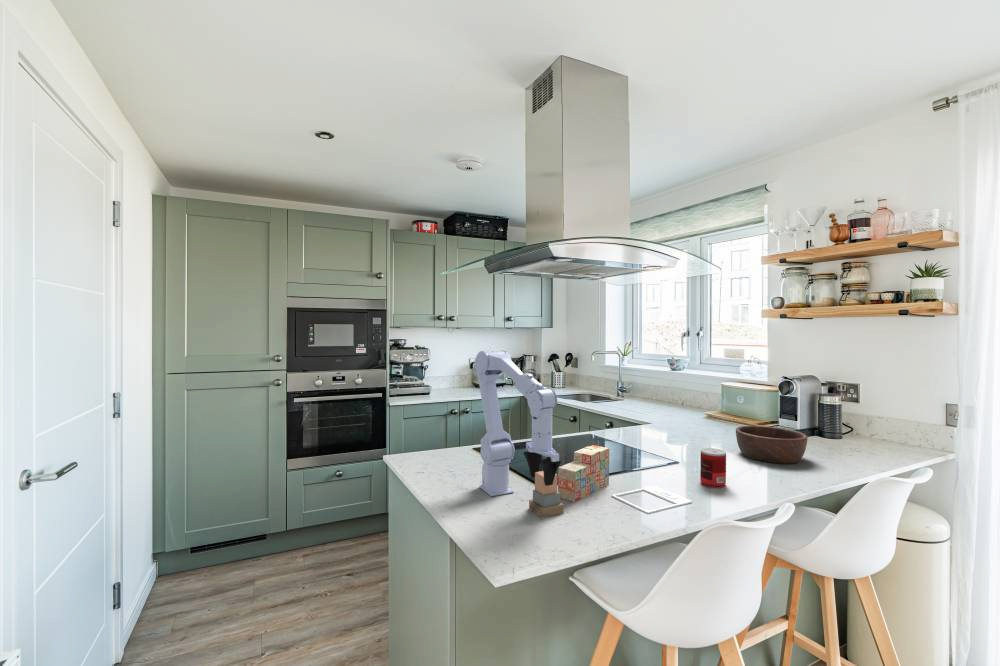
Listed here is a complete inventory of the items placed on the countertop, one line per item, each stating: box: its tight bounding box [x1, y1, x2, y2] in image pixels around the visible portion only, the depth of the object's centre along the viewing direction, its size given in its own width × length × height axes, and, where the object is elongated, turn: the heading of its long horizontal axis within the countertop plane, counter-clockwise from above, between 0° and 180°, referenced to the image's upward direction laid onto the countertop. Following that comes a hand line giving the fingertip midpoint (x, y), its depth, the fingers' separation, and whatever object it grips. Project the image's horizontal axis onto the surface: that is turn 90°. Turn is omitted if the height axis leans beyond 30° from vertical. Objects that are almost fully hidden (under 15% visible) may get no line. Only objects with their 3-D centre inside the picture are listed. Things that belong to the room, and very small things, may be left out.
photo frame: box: [611, 485, 693, 515], centre depth 138 cm, size 15×1×18 cm
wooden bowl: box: [735, 425, 808, 465], centre depth 186 cm, size 25×25×10 cm
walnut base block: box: [528, 498, 565, 519], centre depth 129 cm, size 7×7×3 cm
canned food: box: [700, 447, 727, 489], centre depth 153 cm, size 8×8×11 cm
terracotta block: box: [534, 470, 558, 495], centre depth 129 cm, size 4×4×5 cm
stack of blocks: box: [557, 444, 610, 503], centre depth 145 cm, size 21×6×12 cm, turn 139°
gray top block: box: [532, 489, 561, 507], centre depth 129 cm, size 6×6×3 cm
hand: (541, 480), depth 128 cm, fingers open, 7 cm apart
